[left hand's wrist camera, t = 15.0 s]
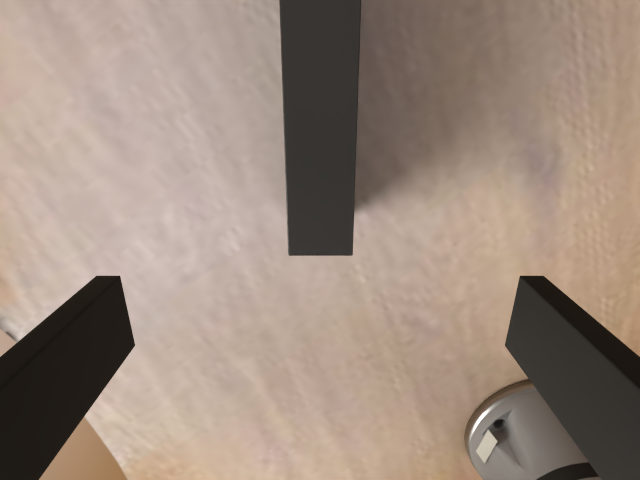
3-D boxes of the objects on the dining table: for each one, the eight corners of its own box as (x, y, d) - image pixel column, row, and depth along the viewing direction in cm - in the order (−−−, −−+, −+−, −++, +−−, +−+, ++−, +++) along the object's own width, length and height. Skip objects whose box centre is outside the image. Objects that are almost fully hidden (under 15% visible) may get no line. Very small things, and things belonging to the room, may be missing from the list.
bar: (344, 216, 35) (352, 255, 27) (295, 216, 35) (288, 255, 27) (354, -192, 25) (372, -330, 16) (285, -192, 25) (267, -330, 16)
